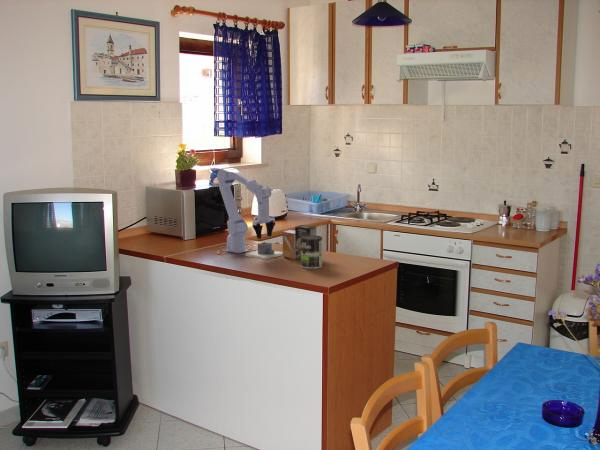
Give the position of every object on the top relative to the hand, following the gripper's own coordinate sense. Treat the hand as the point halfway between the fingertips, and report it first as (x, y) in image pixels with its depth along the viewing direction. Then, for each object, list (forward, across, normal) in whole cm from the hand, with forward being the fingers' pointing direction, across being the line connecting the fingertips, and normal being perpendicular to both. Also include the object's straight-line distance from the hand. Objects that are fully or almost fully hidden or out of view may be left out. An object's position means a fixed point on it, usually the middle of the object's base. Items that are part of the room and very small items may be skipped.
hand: (264, 237), depth 351 cm
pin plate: (+9, 0, 0) cm, 9 cm away
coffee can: (+10, -5, -35) cm, 37 cm away
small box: (+10, +5, -14) cm, 18 cm away
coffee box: (+9, +7, -22) cm, 24 cm away
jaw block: (+8, 0, -2) cm, 8 cm away
